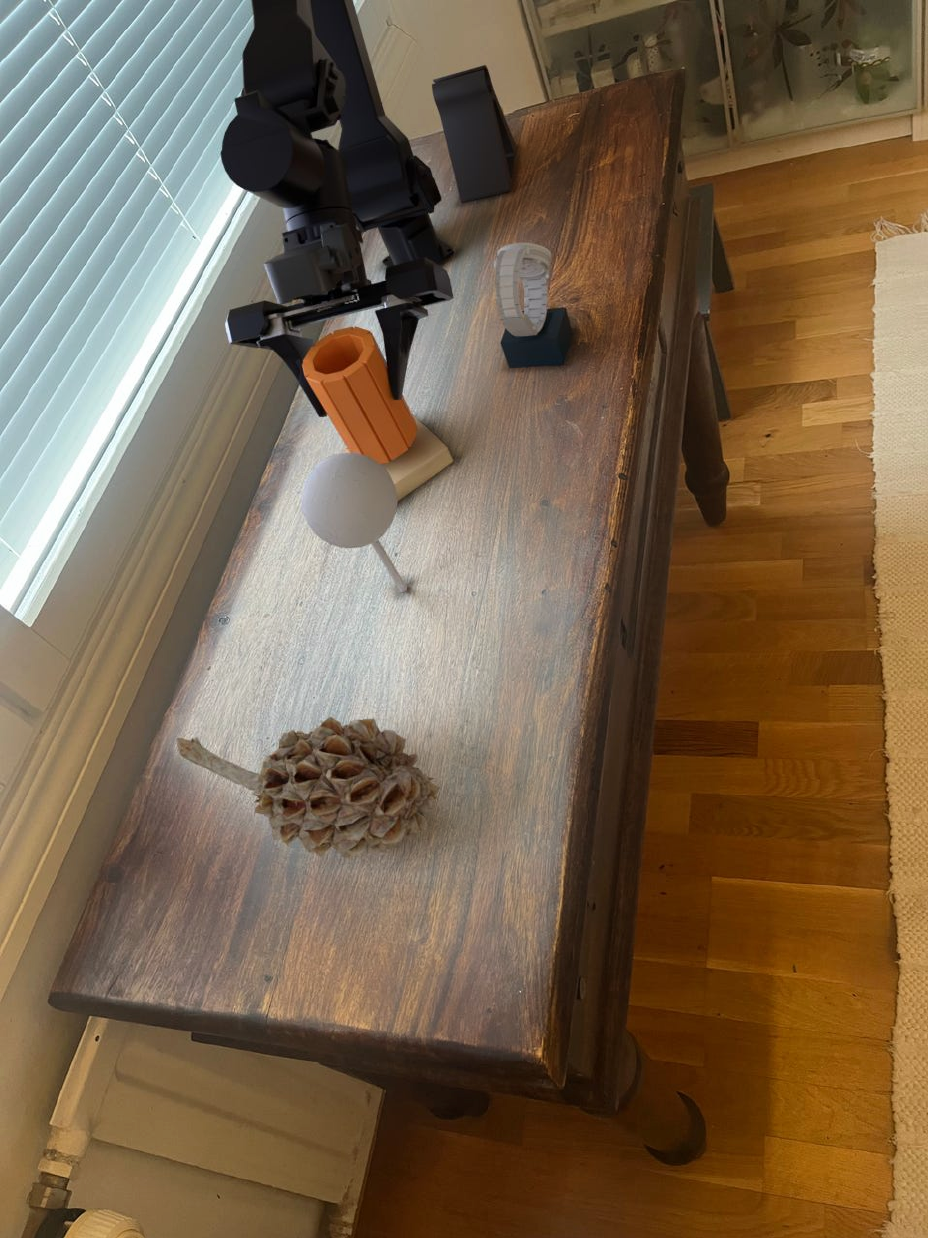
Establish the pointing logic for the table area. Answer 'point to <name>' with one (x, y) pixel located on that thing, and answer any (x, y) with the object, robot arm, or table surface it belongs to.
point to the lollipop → (351, 504)
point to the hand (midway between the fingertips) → (359, 408)
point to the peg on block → (417, 461)
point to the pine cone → (334, 787)
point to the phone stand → (475, 133)
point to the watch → (529, 308)
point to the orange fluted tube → (359, 394)
